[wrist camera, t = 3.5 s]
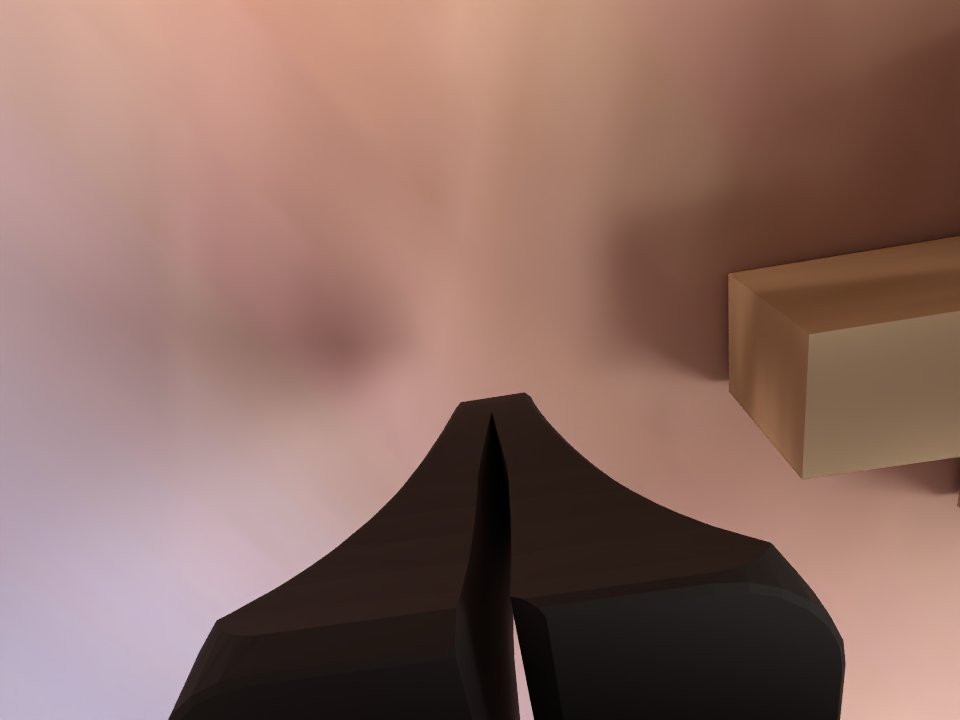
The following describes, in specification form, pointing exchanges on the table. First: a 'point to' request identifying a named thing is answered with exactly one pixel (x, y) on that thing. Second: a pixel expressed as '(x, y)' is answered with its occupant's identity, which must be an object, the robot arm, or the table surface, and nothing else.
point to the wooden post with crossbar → (851, 357)
